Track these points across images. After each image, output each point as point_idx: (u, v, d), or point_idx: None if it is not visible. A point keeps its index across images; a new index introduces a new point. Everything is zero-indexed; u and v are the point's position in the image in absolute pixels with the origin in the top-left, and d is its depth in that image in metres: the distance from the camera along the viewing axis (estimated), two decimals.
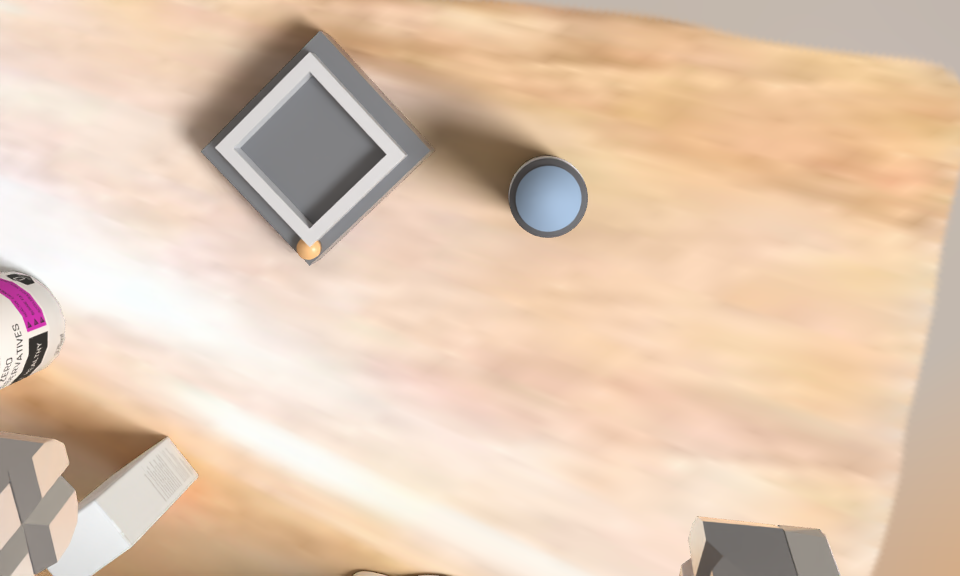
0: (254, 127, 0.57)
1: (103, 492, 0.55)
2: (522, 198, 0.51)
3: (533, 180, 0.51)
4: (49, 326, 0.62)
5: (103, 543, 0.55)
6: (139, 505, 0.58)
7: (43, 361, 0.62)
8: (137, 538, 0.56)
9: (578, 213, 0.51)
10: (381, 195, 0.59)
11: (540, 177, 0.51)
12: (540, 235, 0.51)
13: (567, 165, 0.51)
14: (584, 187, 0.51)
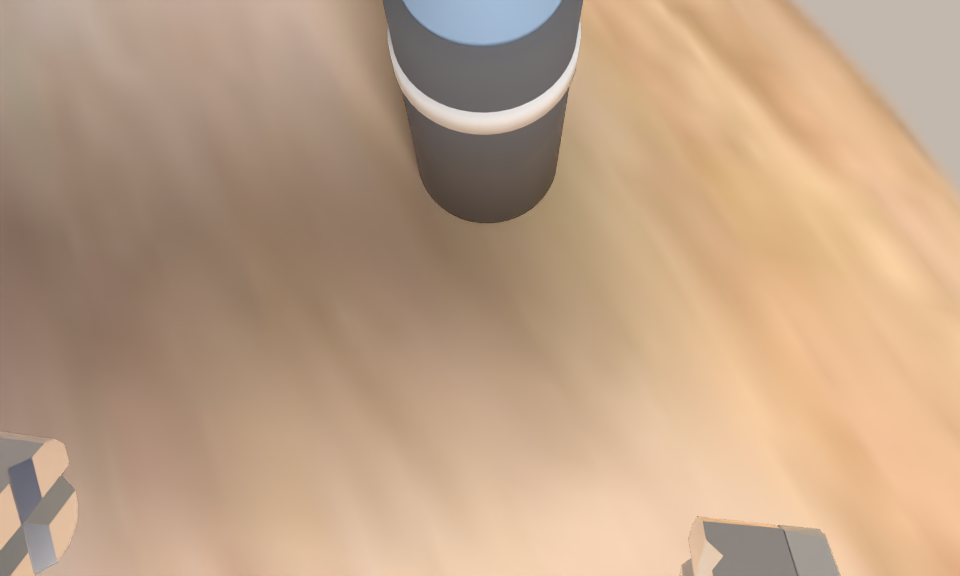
0: None
1: None
2: None
3: None
4: None
5: None
6: None
7: None
8: None
9: (506, 43, 0.19)
10: None
11: None
12: (394, 14, 0.19)
13: None
14: (568, 16, 0.19)
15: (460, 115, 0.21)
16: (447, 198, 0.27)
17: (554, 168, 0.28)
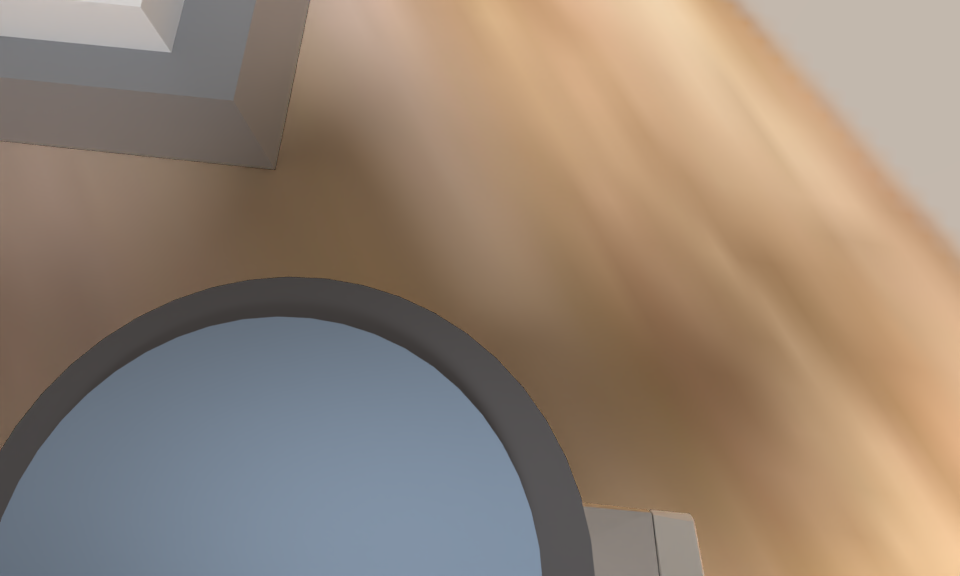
0: None
1: None
2: (139, 417, 0.06)
3: (308, 389, 0.06)
4: None
5: None
6: None
7: None
8: None
9: None
10: None
11: (361, 416, 0.06)
12: None
13: (575, 525, 0.06)
14: None
15: None
16: None
17: None
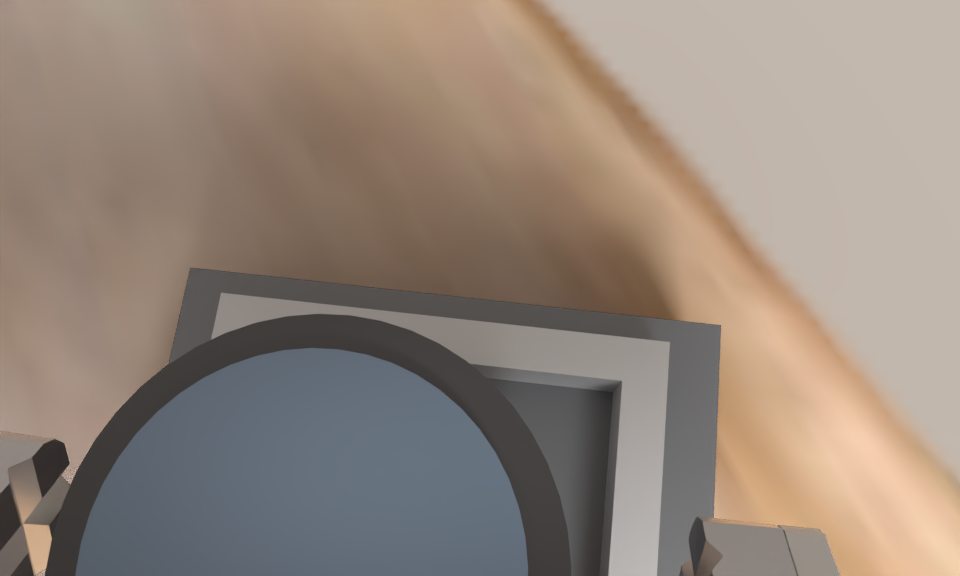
0: None
1: None
2: (200, 430, 0.08)
3: (337, 408, 0.08)
4: None
5: None
6: None
7: None
8: None
9: None
10: None
11: (380, 430, 0.08)
12: None
13: (555, 518, 0.08)
14: None
15: None
16: None
17: None
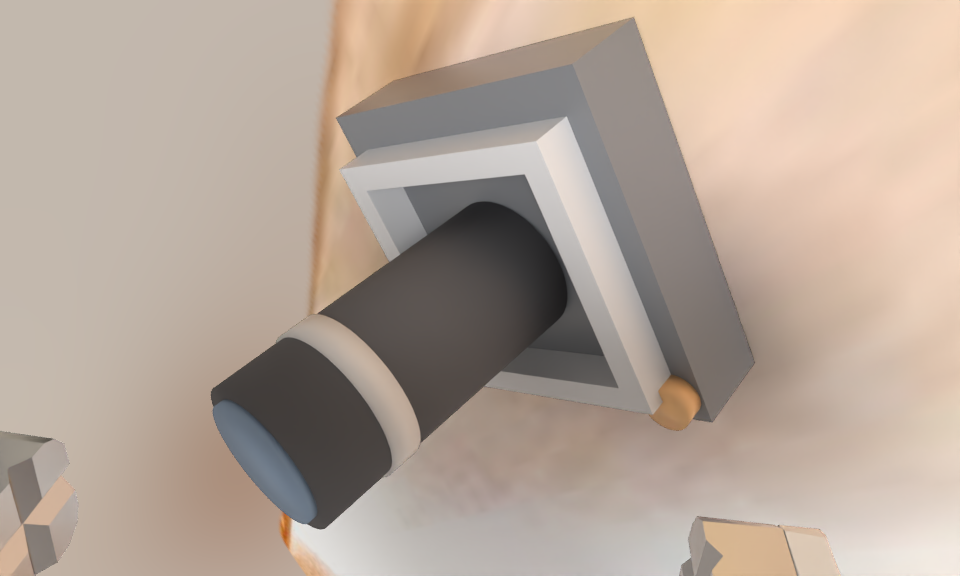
0: None
1: None
2: (263, 488, 0.24)
3: (236, 451, 0.23)
4: None
5: None
6: None
7: None
8: None
9: (283, 455, 0.21)
10: (631, 221, 0.23)
11: (231, 441, 0.23)
12: (323, 524, 0.22)
13: (217, 389, 0.22)
14: (246, 404, 0.21)
15: (388, 429, 0.22)
16: (541, 318, 0.26)
17: (472, 220, 0.26)
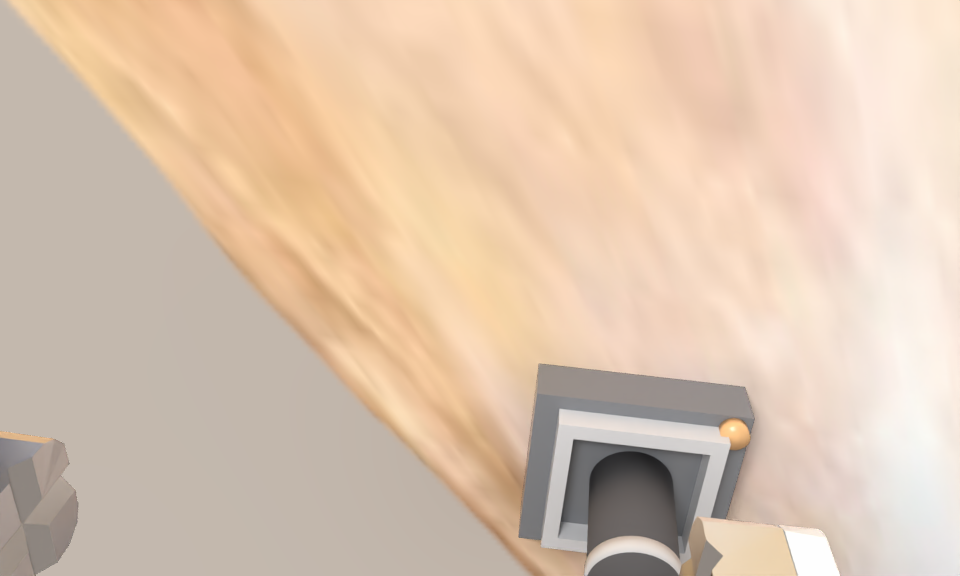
0: None
1: None
2: None
3: None
4: None
5: None
6: None
7: None
8: None
9: None
10: (621, 404, 0.46)
11: None
12: None
13: None
14: None
15: (646, 550, 0.41)
16: (654, 472, 0.46)
17: (591, 483, 0.48)
